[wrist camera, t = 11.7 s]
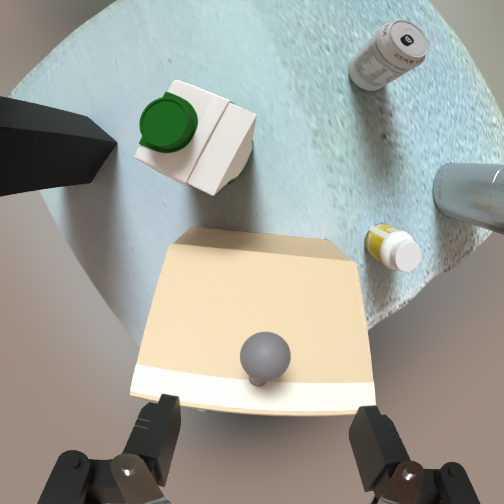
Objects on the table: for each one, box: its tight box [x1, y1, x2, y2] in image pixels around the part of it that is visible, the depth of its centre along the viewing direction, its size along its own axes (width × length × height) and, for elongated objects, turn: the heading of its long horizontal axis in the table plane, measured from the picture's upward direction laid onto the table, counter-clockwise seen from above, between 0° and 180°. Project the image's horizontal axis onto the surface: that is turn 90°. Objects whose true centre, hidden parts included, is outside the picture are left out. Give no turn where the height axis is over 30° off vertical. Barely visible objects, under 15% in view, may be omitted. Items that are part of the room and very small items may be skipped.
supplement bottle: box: [364, 223, 422, 272], centre depth 38 cm, size 5×5×10 cm
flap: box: [130, 243, 376, 417], centre depth 23 cm, size 20×16×7 cm
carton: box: [173, 227, 351, 261], centre depth 39 cm, size 20×16×12 cm
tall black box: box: [0, 96, 117, 196], centre depth 26 cm, size 8×8×28 cm
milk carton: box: [134, 79, 257, 196], centre depth 30 cm, size 9×9×20 cm
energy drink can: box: [348, 20, 428, 91], centre depth 29 cm, size 6×6×15 cm
